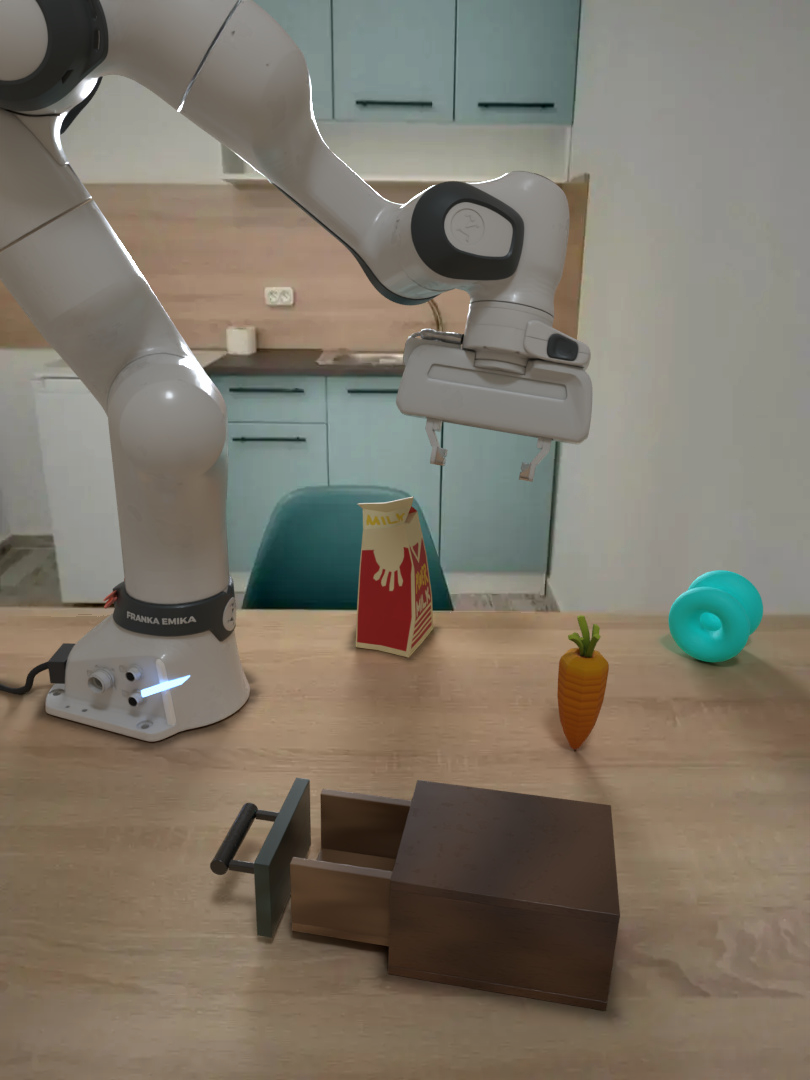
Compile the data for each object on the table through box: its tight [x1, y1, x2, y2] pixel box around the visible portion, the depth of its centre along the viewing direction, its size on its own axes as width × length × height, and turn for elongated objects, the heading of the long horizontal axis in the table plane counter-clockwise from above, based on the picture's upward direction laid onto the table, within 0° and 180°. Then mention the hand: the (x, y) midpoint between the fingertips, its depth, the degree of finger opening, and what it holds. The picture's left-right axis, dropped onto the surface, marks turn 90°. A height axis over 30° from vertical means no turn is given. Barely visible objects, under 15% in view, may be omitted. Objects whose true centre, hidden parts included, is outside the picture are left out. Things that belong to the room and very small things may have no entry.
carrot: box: [556, 614, 610, 751], centre depth 85 cm, size 5×5×15 cm
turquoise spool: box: [667, 569, 764, 663], centre depth 108 cm, size 10×10×10 cm
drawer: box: [209, 777, 412, 947], centre depth 65 cm, size 19×10×7 cm, turn 80°
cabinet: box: [387, 779, 621, 1011], centre depth 63 cm, size 16×12×9 cm
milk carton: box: [355, 496, 434, 658], centre depth 107 cm, size 9×9×20 cm
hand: (481, 472), depth 87 cm, fingers open, 8 cm apart
